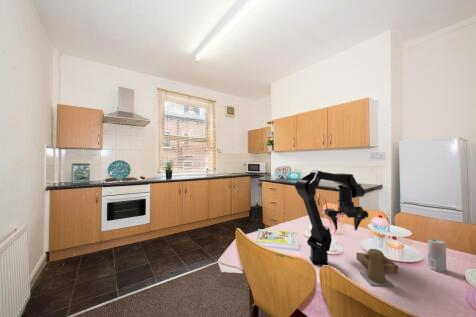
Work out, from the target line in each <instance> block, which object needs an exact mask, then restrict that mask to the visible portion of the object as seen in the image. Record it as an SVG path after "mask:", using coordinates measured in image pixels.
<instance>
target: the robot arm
mask: <svg viewBox="0 0 476 317" xmlns="http://www.w3.org/2000/svg"><path fill="white" fill-rule="evenodd" d="M321 180H324V181H330V182H333V183H335V184H337V187H336V188H335V190H336V191H338V200H337V201H338V203H339V204H338V206H339V207H337V209H338V210H336V209H334V208H325V209H324V215H326V216H327V217H329V218H330V220H331V221H332V224H333V226H334V229H335V230H336V231H338V217H337V216H338V215H339V216H340V215H345V216H346V217H347V218H350V219H351V218H353V228H354V231H358V228H359V226H360V224H361V222H362V221H363V220H366V218H369V212H368V211H367V210H365V209H363V207H362V206H355V204H354V201H353V199H357V198H363V197H364V196H365V194H366V190H365V189H364V187H362V184H361V183H358V182H357V180H356V179H355V177H354V174H352V173H342V172H341V173H340V172H339V173H332V172H326V171H321V170H311V171H310V172H309V173H308V174H305V175H304V176H302V177H301V178H300V179H297V181H296V182H295V185H294V188H295V190H296V193H297V194H298V196H300V198H301V199H302V200H303V203H304V206H305V208H306V212H307V216H308V219H309V221H310V224H311V230H310V234H311V235H310V237H309V238H308V239H307V241H306V243H307V245H308V246H310V255H309V259H310V261H311V263H312V265H314V266H315V265H316V266H318V265H321V266H328V265H329V263H328V262H329V260H328V258H329V256H328V252H329V251H330V249H331V245H332V237H333V235H332V233H331V229H330V228H329V227H327V226H324V223H323V221H322V217H321V214H320V212H319V209H318V205H317V202H316V199H315V196H316V193H317V191H316V190H317V189H316V188H318V186H319V185H320V182H321Z"/></svg>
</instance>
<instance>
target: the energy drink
mask: <svg viewBox="0 0 476 317" xmlns="http://www.w3.org/2000/svg"><path fill="white" fill-rule="evenodd" d="M427 251H428V253H427V257H428V258H427V259H428V260H427V261H428V262H427V263H428V264H427V266H428V268H430V270H431V271H434V272H438V273H441V274H442V273H443V274H444V273H446V272H447V245H446V241H443V240H440V239H437V238H429V239H428V240H427Z"/></svg>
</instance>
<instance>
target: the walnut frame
mask: <svg viewBox="0 0 476 317" xmlns="http://www.w3.org/2000/svg"><path fill="white" fill-rule="evenodd" d="M355 256H356V260H357V261H358V262H359V263H360V264H361V265H362V266H363V267H364V268H365V270H367V271H368V265H369V256H368V252H356V254H355ZM382 262H383V267H384V273H385V274H399V266H398V265H397V264H396V263H394V262H393V260H391V259H389V258H388V257H387V256H385V255H384V259H383V260H382Z"/></svg>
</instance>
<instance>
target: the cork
mask: <svg viewBox="0 0 476 317" xmlns="http://www.w3.org/2000/svg"><path fill="white" fill-rule="evenodd" d="M367 253H368V256H369V265H368V270H367V271H366V272H367V278H368V279H370V280H371V281H373V282H376V283H385V282H386V279H385V277H386V275H385V274H386V273H384V267H383V262H382V260H383V259H384V256H385V255H384V253H383V252H382V251H381V250H380V249H377V248H370V249H368V250H367Z"/></svg>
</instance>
